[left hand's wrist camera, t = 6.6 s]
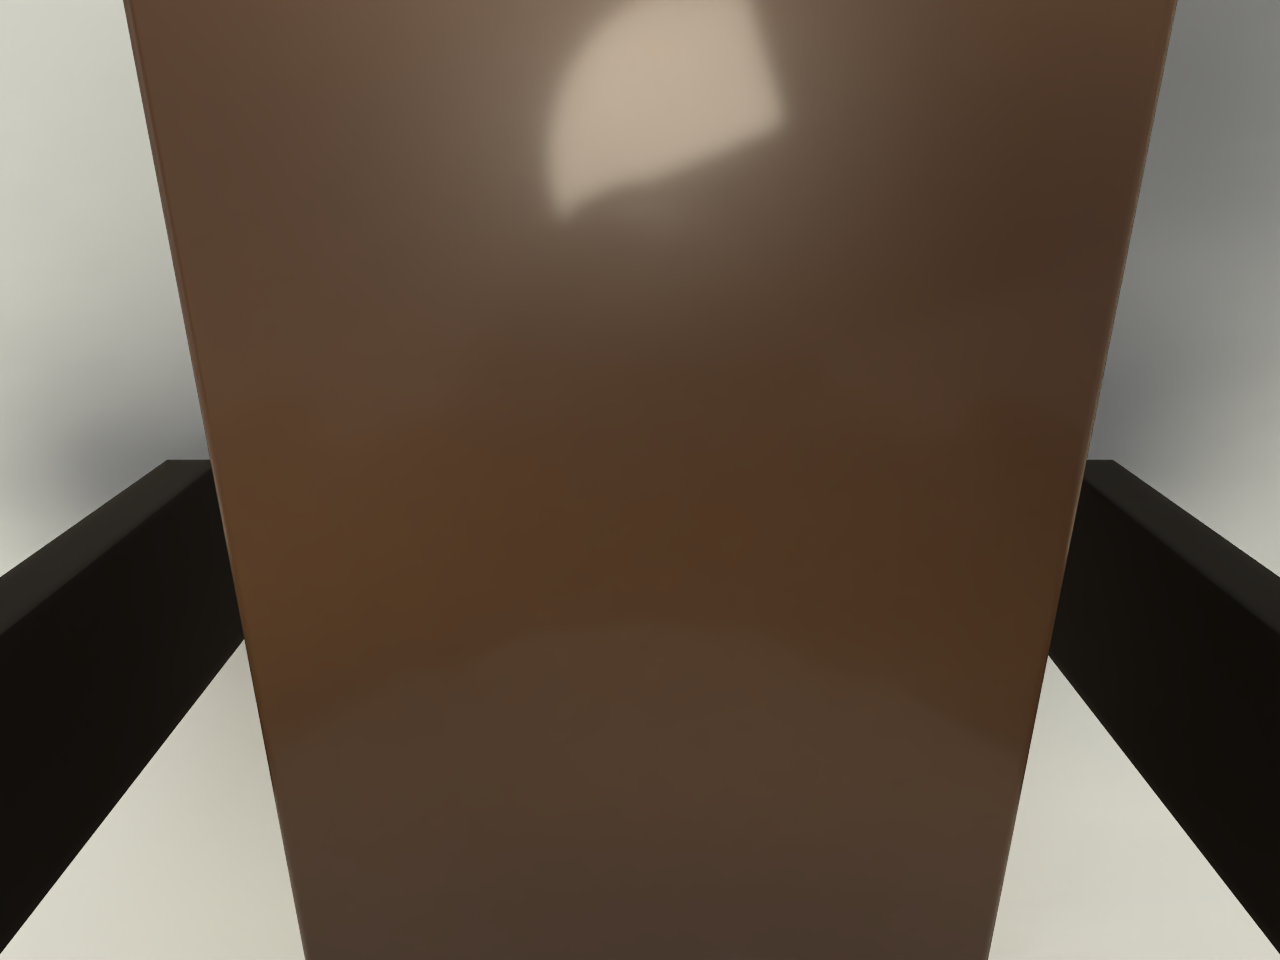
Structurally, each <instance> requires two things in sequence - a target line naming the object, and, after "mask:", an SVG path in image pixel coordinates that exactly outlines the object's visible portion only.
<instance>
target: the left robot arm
mask: <svg viewBox="0 0 1280 960" xmlns="http://www.w3.org/2000/svg"><path fill="white" fill-rule="evenodd" d="M243 640H244V634H243V629H242V623H241V618H240V613H239V608H238V602H237V597H236V592H235V587H234V581H233V576H232V571H231V565H230V560H229V555H228V550H227V544H226V539H225V534H224V529H223V523H222V518H221V513H220V508H219V502H218V497H217V492H216V487H215V481H214V476H213V471H212V465H211V460H166V461H165V462H164V463H162V464H161V465H159V466H158V467H156V468H155V469H154V470H152V471H151V472H149V473H148V474H146V475H145V476H144V477H142V478H141V479H139V480H138V481H137V482H135V483H134V484H132V485H131V486H129V487H128V488H127V489H125V490H124V491H122V492H121V493H119V494H118V495H117V496H115V497H114V498H112V499H111V500H109V501H108V502H107V503H105V504H104V505H102V506H101V507H100V508H98V509H97V510H95V511H94V512H92V513H91V514H90V515H88V516H87V517H85V518H84V519H82V520H81V521H80V522H78V523H77V524H75V525H74V526H73V527H71V528H70V529H68V530H67V531H65V532H64V533H63V534H61V535H60V536H58V537H57V538H55V539H54V540H53V541H51V542H50V543H48V544H47V545H45V546H44V547H43V548H41V549H40V550H38V551H37V552H36V553H34V554H33V555H31V556H30V557H28V558H27V559H26V560H24V561H23V562H21V563H20V564H18V565H17V566H16V567H14V568H13V569H11V570H10V571H9V572H7V573H6V574H4V575H3V576H1V577H0V954H1V952H2V951H3V950H4V948H5V947H6V946H7V945H8V943H9V942H10V941H11V939H12V938H13V937H14V936H15V934H16V933H17V932H18V930H19V929H20V928H21V926H22V925H23V924H24V923H25V921H26V920H27V919H28V917H29V916H30V915H31V914H32V912H33V911H34V910H35V908H36V907H37V906H38V905H39V903H40V902H41V901H42V899H43V898H44V897H45V895H46V894H47V893H48V892H49V890H50V889H51V888H52V886H53V885H54V884H55V883H56V881H57V880H58V879H59V877H60V876H61V875H62V874H63V872H64V871H65V870H66V868H67V867H68V866H69V864H70V863H71V862H72V861H73V859H74V858H75V857H76V855H77V854H78V853H79V852H80V850H81V849H82V848H83V846H84V845H85V844H86V843H87V841H88V840H89V839H90V837H91V836H92V835H93V833H94V832H95V831H96V830H97V828H98V827H99V826H100V824H101V823H102V822H103V821H104V819H105V818H106V817H107V815H108V814H109V813H110V812H111V810H112V809H113V808H114V806H115V805H116V804H117V802H118V801H119V800H120V799H121V797H122V796H123V795H124V793H125V792H126V791H127V790H128V788H129V787H130V786H131V784H132V783H133V782H134V781H135V779H136V778H137V777H138V775H139V774H140V773H141V771H142V770H143V769H144V768H145V766H146V765H147V764H148V762H149V761H150V760H151V759H152V757H153V756H154V755H155V753H156V752H157V751H158V750H159V748H160V747H161V746H162V744H163V743H164V742H165V740H166V739H167V738H168V737H169V735H170V734H171V733H172V731H173V730H174V729H175V728H176V726H177V725H178V724H179V722H180V721H181V720H182V719H183V717H184V716H185V715H186V713H187V712H188V711H189V709H190V708H191V707H192V706H193V704H194V703H195V702H196V700H197V699H198V698H199V697H200V695H201V694H202V693H203V691H204V690H205V689H206V688H207V686H208V685H209V684H210V682H211V681H212V680H213V678H214V677H215V676H216V675H217V673H218V672H219V671H220V669H221V668H222V667H223V666H224V664H225V663H226V662H227V660H228V659H229V658H230V657H231V655H232V654H233V653H234V651H235V650H236V649H237V647H238V646H239V645H240V644H241V642H242V641H243ZM1048 655H1049V656H1050V658H1051V659H1052V660H1053V662H1054V663H1055V664H1056V666H1057V667H1058V668H1059V669H1060V671H1061V672H1062V673H1063V675H1064V676H1065V677H1066V678H1067V680H1068V681H1069V682H1070V684H1071V685H1072V686H1073V687H1074V689H1075V690H1076V691H1077V693H1078V694H1079V695H1080V697H1081V698H1082V699H1083V700H1084V702H1085V703H1086V704H1087V706H1088V707H1089V708H1090V709H1091V711H1092V712H1093V713H1094V715H1095V716H1096V717H1097V718H1098V720H1099V721H1100V722H1101V724H1102V725H1103V726H1104V728H1105V729H1106V730H1107V731H1108V733H1109V734H1110V735H1111V737H1112V738H1113V739H1114V740H1115V742H1116V743H1117V744H1118V746H1119V747H1120V748H1121V749H1122V751H1123V752H1124V753H1125V755H1126V756H1127V757H1128V759H1129V760H1130V761H1131V762H1132V764H1133V765H1134V766H1135V768H1136V769H1137V770H1138V771H1139V773H1140V774H1141V775H1142V777H1143V778H1144V779H1145V780H1146V782H1147V783H1148V784H1149V786H1150V787H1151V788H1152V790H1153V791H1154V792H1155V793H1156V795H1157V796H1158V797H1159V799H1160V800H1161V801H1162V802H1163V804H1164V805H1165V806H1166V808H1167V809H1168V810H1169V811H1170V813H1171V814H1172V815H1173V817H1174V818H1175V819H1176V821H1177V822H1178V823H1179V824H1180V826H1181V827H1182V828H1183V830H1184V831H1185V832H1186V833H1187V835H1188V836H1189V837H1190V839H1191V840H1192V841H1193V842H1194V844H1195V845H1196V846H1197V848H1198V849H1199V850H1200V852H1201V853H1202V854H1203V855H1204V857H1205V858H1206V859H1207V861H1208V862H1209V863H1210V864H1211V866H1212V867H1213V868H1214V870H1215V871H1216V872H1217V873H1218V875H1219V876H1220V877H1221V879H1222V880H1223V881H1224V883H1225V884H1226V885H1227V886H1228V888H1229V889H1230V890H1231V892H1232V893H1233V894H1234V895H1235V897H1236V898H1237V899H1238V901H1239V902H1240V903H1241V904H1242V906H1243V907H1244V908H1245V910H1246V911H1247V912H1248V914H1249V915H1250V916H1251V917H1252V919H1253V920H1254V921H1255V923H1256V924H1257V925H1258V926H1259V928H1260V929H1261V930H1262V932H1263V933H1264V934H1265V936H1266V937H1267V938H1268V939H1269V941H1270V942H1271V943H1272V945H1273V946H1274V947H1275V948H1276V950H1277V951H1278V952H1279V954H1280V577H1279V576H1277V575H1276V574H1274V573H1273V572H1272V571H1270V570H1269V569H1267V568H1266V567H1264V566H1263V565H1262V564H1260V563H1259V562H1257V561H1256V560H1254V559H1253V558H1252V557H1250V556H1249V555H1247V554H1246V553H1244V552H1243V551H1242V550H1240V549H1239V548H1237V547H1236V546H1235V545H1233V544H1232V543H1230V542H1229V541H1227V540H1226V539H1225V538H1223V537H1222V536H1220V535H1219V534H1217V533H1216V532H1215V531H1213V530H1212V529H1210V528H1209V527H1208V526H1206V525H1205V524H1203V523H1202V522H1200V521H1199V520H1198V519H1196V518H1195V517H1193V516H1192V515H1190V514H1189V513H1188V512H1186V511H1185V510H1183V509H1182V508H1180V507H1179V506H1178V505H1176V504H1175V503H1173V502H1172V501H1171V500H1169V499H1168V498H1166V497H1165V496H1163V495H1162V494H1161V493H1159V492H1158V491H1156V490H1155V489H1153V488H1152V487H1151V486H1149V485H1148V484H1146V483H1145V482H1144V481H1142V480H1141V479H1139V478H1138V477H1136V476H1135V475H1134V474H1132V473H1131V472H1129V471H1128V470H1126V469H1125V468H1124V467H1122V466H1121V465H1119V464H1118V463H1116V462H1115V461H1114V460H1086V465H1085V470H1084V475H1083V480H1082V485H1081V491H1080V496H1079V501H1078V506H1077V511H1076V516H1075V521H1074V526H1073V531H1072V536H1071V541H1070V546H1069V551H1068V556H1067V561H1066V566H1065V572H1064V577H1063V582H1062V587H1061V592H1060V597H1059V602H1058V607H1057V612H1056V617H1055V622H1054V627H1053V632H1052V637H1051V642H1050V648H1049V653H1048Z"/></svg>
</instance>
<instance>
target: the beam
mask: <svg viewBox="0 0 1280 960" xmlns="http://www.w3.org/2000/svg"><path fill="white" fill-rule="evenodd" d="M123 2H124V8H125V13H126V18H127V23H128V29H129V34H130V39H131V44H132V50H133V55H134V60H135V65H136V71H137V76H138V81H139V86H140V92H141V97H142V102H143V108H144V113H145V118H146V123H147V129H148V134H149V139H150V144H151V150H152V155H153V160H154V165H155V171H156V176H157V181H158V186H159V192H160V197H161V202H162V208H163V213H164V218H165V223H166V229H167V234H168V239H169V244H170V250H171V255H172V260H173V265H174V271H175V276H176V281H177V286H178V292H179V297H180V302H181V308H182V313H183V318H184V323H185V329H186V334H187V339H188V344H189V350H190V355H191V360H192V365H193V371H194V376H195V381H196V387H197V392H198V397H199V402H200V408H201V413H202V418H203V423H204V429H205V434H206V439H207V444H208V450H209V455H210V460H211V465H212V471H213V476H214V481H215V487H216V492H217V497H218V502H219V508H220V513H221V518H222V523H223V529H224V534H225V539H226V544H227V550H228V555H229V560H230V565H231V571H232V576H233V581H234V587H235V592H236V597H237V602H238V608H239V613H240V618H241V623H242V629H243V634H244V639H245V644H246V650H247V655H248V660H249V665H250V671H251V676H252V681H253V687H254V692H255V697H256V702H257V708H258V713H259V718H260V723H261V729H262V734H263V739H264V744H265V750H266V755H267V760H268V765H269V771H270V776H271V781H272V787H273V792H274V797H275V802H276V808H277V813H278V818H279V823H280V829H281V834H282V839H283V844H284V850H285V855H286V860H287V865H288V871H289V876H290V881H291V887H292V892H293V897H294V902H295V908H296V913H297V918H298V923H299V929H300V934H301V939H302V944H303V950H304V955H305V960H988V956H989V951H990V946H991V941H992V936H993V931H994V926H995V921H996V916H997V911H998V906H999V901H1000V896H1001V891H1002V885H1003V880H1004V875H1005V870H1006V865H1007V860H1008V855H1009V850H1010V845H1011V840H1012V835H1013V830H1014V825H1015V820H1016V815H1017V810H1018V804H1019V799H1020V794H1021V789H1022V784H1023V779H1024V774H1025V769H1026V764H1027V759H1028V754H1029V749H1030V744H1031V739H1032V734H1033V729H1034V723H1035V718H1036V713H1037V708H1038V703H1039V698H1040V693H1041V688H1042V683H1043V678H1044V673H1045V668H1046V663H1047V658H1048V653H1049V648H1050V642H1051V637H1052V632H1053V627H1054V622H1055V617H1056V612H1057V607H1058V602H1059V597H1060V592H1061V587H1062V582H1063V577H1064V572H1065V566H1066V561H1067V556H1068V551H1069V546H1070V541H1071V536H1072V531H1073V526H1074V521H1075V516H1076V511H1077V506H1078V501H1079V496H1080V491H1081V485H1082V480H1083V475H1084V470H1085V465H1086V460H1087V455H1088V450H1089V445H1090V440H1091V435H1092V430H1093V425H1094V420H1095V415H1096V410H1097V404H1098V399H1099V394H1100V389H1101V384H1102V379H1103V374H1104V369H1105V364H1106V359H1107V354H1108V349H1109V344H1110V339H1111V334H1112V329H1113V323H1114V318H1115V313H1116V308H1117V303H1118V298H1119V293H1120V288H1121V283H1122V278H1123V273H1124V268H1125V263H1126V258H1127V253H1128V247H1129V242H1130V237H1131V232H1132V227H1133V222H1134V217H1135V212H1136V207H1137V202H1138V197H1139V192H1140V187H1141V182H1142V177H1143V172H1144V166H1145V161H1146V156H1147V151H1148V146H1149V141H1150V136H1151V131H1152V126H1153V121H1154V116H1155V111H1156V106H1157V101H1158V96H1159V91H1160V85H1161V80H1162V75H1163V70H1164V65H1165V60H1166V55H1167V50H1168V45H1169V40H1170V35H1171V30H1172V25H1173V20H1174V15H1175V10H1176V4H1177V0H123Z"/></svg>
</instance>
